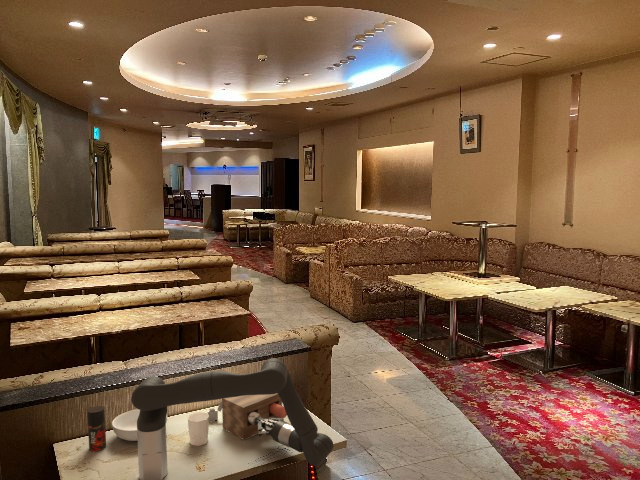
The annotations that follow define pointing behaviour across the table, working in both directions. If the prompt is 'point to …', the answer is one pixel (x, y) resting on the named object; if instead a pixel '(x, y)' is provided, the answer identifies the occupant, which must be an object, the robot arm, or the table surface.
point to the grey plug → (252, 417)
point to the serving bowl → (127, 425)
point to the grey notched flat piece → (214, 412)
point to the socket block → (238, 409)
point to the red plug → (277, 410)
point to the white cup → (198, 428)
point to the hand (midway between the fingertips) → (256, 419)
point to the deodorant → (96, 428)
